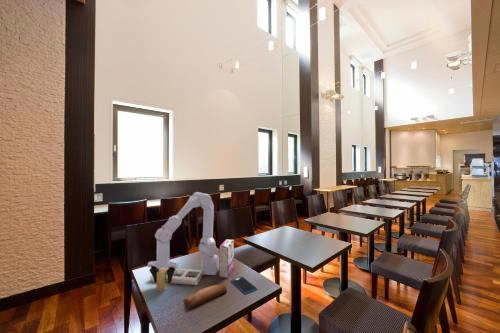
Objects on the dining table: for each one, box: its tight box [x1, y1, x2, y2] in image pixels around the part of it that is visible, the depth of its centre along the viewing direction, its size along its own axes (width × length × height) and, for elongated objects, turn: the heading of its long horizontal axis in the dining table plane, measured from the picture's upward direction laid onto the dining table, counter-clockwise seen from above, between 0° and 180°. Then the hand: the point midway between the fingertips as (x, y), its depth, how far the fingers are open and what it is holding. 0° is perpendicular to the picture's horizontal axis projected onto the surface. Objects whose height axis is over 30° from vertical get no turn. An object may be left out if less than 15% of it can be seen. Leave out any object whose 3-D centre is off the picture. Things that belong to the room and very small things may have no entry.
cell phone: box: [230, 276, 258, 295], centre depth 104 cm, size 7×14×1 cm, turn 34°
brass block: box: [156, 269, 170, 291], centre depth 102 cm, size 4×4×8 cm
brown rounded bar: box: [182, 284, 228, 310], centre depth 94 cm, size 18×7×7 cm
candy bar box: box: [219, 239, 235, 279], centre depth 116 cm, size 11×5×16 cm, turn 168°
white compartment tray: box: [149, 267, 204, 286], centre depth 110 cm, size 24×10×2 cm, turn 83°
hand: (163, 282), depth 102 cm, fingers open, 6 cm apart
